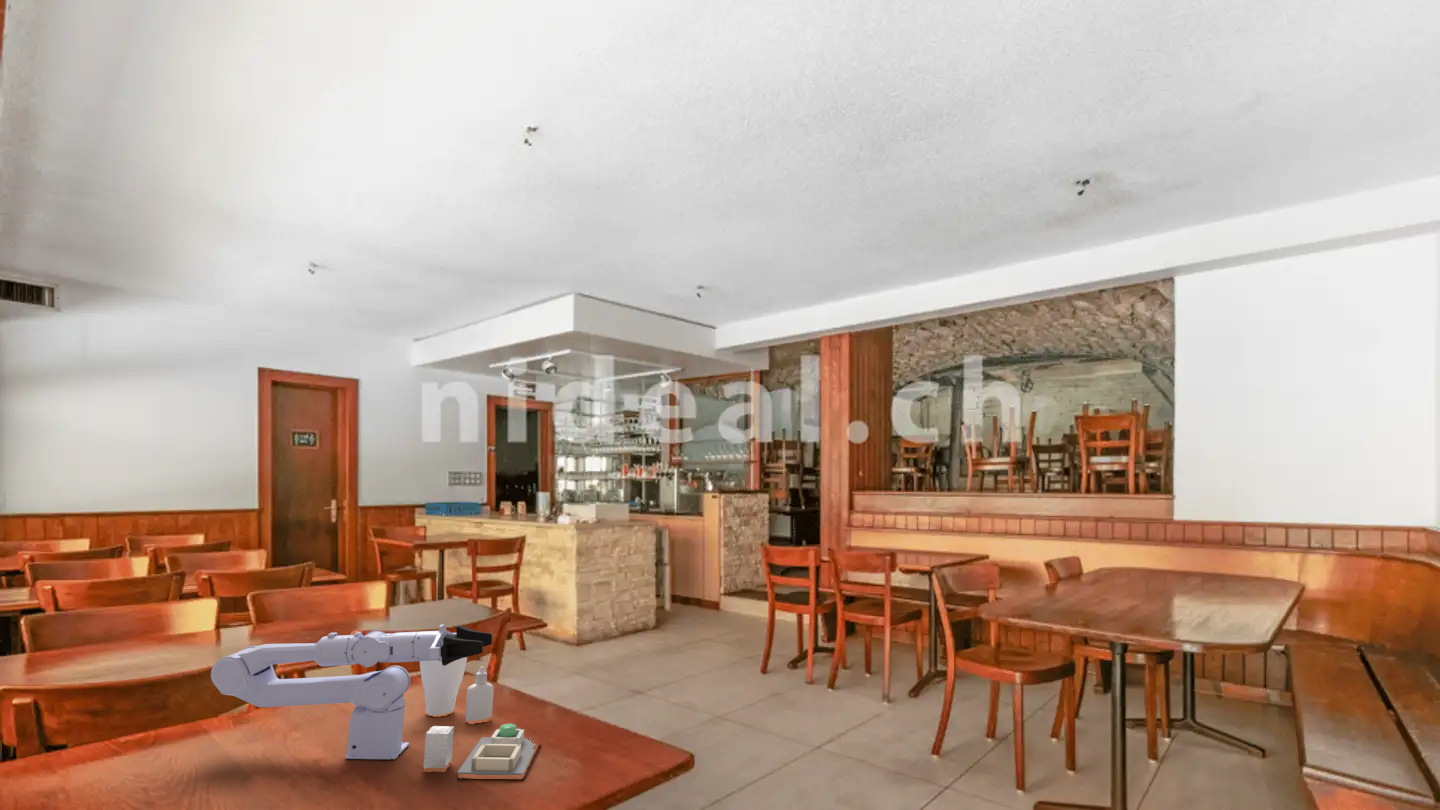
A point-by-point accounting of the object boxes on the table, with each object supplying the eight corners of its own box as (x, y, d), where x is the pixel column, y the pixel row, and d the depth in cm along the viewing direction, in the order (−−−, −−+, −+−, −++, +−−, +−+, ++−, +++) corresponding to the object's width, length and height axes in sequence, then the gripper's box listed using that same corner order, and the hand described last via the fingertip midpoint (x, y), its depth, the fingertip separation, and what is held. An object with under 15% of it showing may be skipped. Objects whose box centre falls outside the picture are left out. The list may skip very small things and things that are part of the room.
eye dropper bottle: (468, 718, 169) (471, 663, 170) (493, 718, 170) (496, 664, 171) (463, 724, 165) (466, 669, 166) (488, 725, 165) (492, 669, 166)
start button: (497, 741, 150) (498, 728, 150) (501, 735, 153) (502, 723, 153) (513, 741, 150) (514, 729, 150) (517, 736, 153) (517, 723, 153)
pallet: (456, 779, 137) (458, 759, 137) (481, 743, 155) (482, 726, 155) (523, 780, 137) (524, 761, 138) (540, 744, 155) (541, 727, 156)
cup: (405, 715, 170) (409, 654, 171) (441, 703, 179) (445, 645, 180) (437, 724, 165) (442, 661, 166) (473, 711, 174) (477, 652, 175)
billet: (423, 772, 139) (426, 733, 140) (430, 763, 143) (432, 726, 144) (444, 772, 140) (447, 733, 140) (451, 764, 144) (453, 726, 144)
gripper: (405, 633, 143) (477, 630, 144) (429, 619, 157) (495, 616, 158) (405, 671, 142) (477, 667, 143) (429, 653, 157) (495, 650, 158)
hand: (487, 643), depth 151 cm, fingers open, 7 cm apart
